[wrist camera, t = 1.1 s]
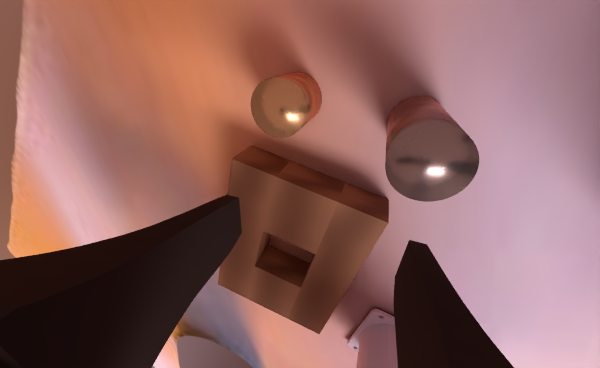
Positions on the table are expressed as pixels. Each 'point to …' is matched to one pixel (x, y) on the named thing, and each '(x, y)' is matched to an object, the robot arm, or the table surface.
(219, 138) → the table surface
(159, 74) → the table surface
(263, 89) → the short brass peg
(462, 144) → the long steel peg
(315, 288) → the walnut board
